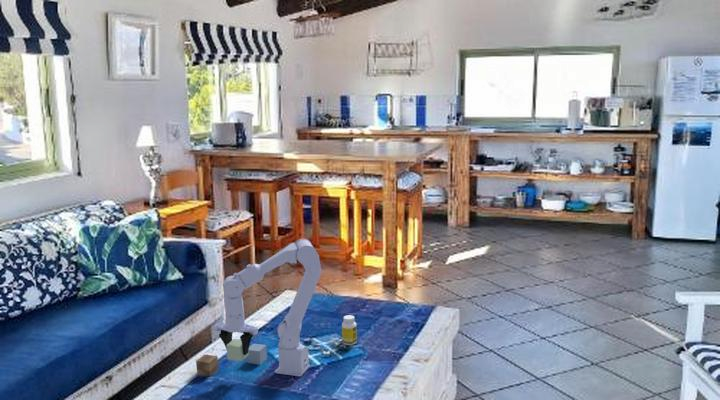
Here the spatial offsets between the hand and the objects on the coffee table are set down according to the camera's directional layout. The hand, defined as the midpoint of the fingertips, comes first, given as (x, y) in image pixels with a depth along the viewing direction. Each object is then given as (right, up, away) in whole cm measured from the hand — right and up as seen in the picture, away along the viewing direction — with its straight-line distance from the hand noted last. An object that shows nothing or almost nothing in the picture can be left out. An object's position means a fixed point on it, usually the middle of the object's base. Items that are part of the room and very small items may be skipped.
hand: (238, 352), depth 200 cm
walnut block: (-11, -8, +6) cm, 15 cm away
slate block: (+4, -6, +13) cm, 15 cm away
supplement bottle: (+36, -3, +25) cm, 44 cm away
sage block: (0, -1, 0) cm, 2 cm away
